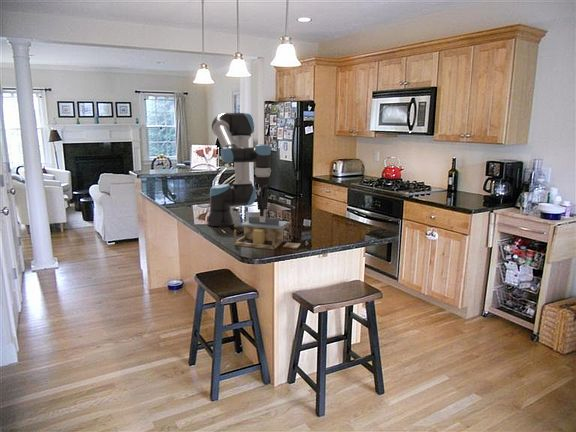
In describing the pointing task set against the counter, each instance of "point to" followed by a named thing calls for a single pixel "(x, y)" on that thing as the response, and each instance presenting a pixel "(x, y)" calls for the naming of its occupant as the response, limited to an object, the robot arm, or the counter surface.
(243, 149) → the robot arm
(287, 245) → the cork coaster
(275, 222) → the cover
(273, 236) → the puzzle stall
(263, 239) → the ochre block
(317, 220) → the counter surface
